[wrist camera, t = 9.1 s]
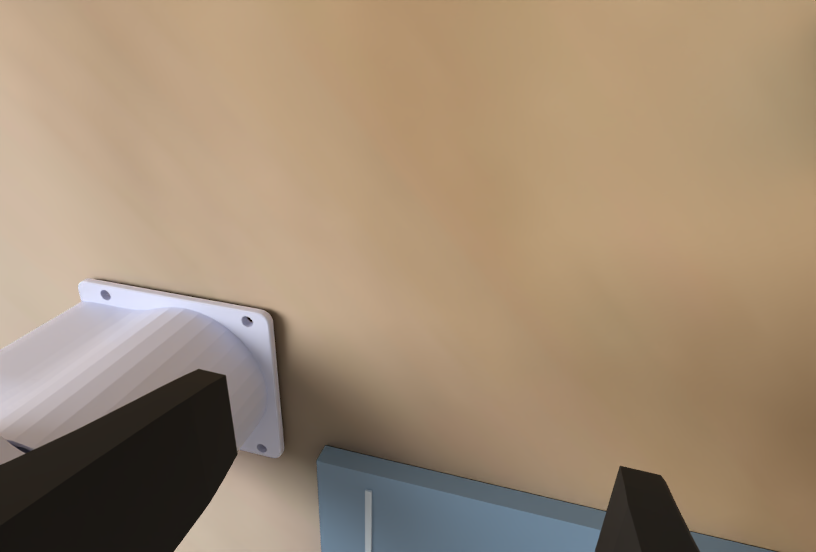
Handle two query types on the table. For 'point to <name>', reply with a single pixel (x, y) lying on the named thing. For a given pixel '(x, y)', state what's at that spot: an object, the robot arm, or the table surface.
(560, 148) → the table surface
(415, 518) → the blueprint board
